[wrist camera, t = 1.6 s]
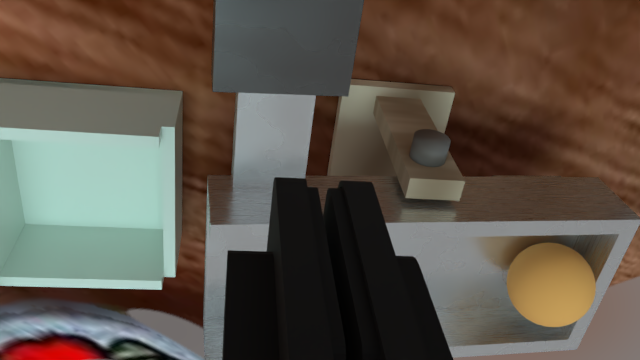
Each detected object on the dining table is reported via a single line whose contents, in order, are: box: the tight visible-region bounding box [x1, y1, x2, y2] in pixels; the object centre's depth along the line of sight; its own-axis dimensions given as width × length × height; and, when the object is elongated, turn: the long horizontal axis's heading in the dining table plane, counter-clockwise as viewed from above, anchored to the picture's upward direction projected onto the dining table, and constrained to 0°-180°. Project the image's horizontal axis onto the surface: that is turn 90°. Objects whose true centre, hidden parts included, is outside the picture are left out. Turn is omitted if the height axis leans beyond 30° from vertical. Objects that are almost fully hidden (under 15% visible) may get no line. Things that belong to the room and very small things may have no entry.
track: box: [203, 0, 640, 360], centre depth 27 cm, size 19×18×6 cm
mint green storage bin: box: [0, 78, 183, 290], centre depth 29 cm, size 9×9×9 cm
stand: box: [327, 79, 465, 201], centre depth 32 cm, size 6×13×9 cm, turn 173°
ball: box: [507, 243, 596, 327], centre depth 29 cm, size 4×4×4 cm
